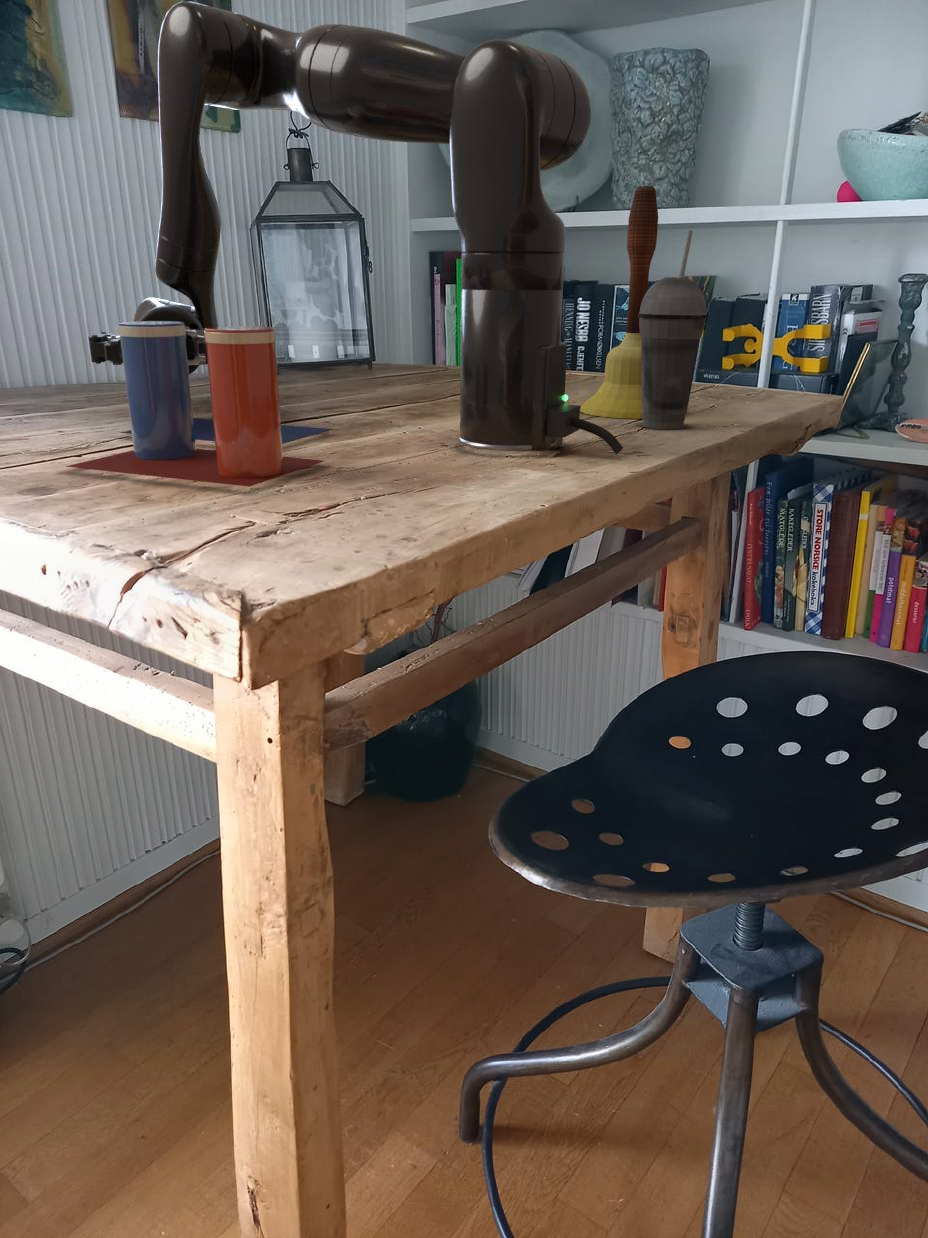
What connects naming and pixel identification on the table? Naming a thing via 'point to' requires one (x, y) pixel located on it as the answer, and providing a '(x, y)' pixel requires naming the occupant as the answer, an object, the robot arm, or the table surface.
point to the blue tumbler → (158, 389)
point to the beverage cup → (670, 347)
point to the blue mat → (288, 433)
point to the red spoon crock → (245, 400)
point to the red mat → (185, 467)
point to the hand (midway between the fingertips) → (162, 352)
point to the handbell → (630, 318)
